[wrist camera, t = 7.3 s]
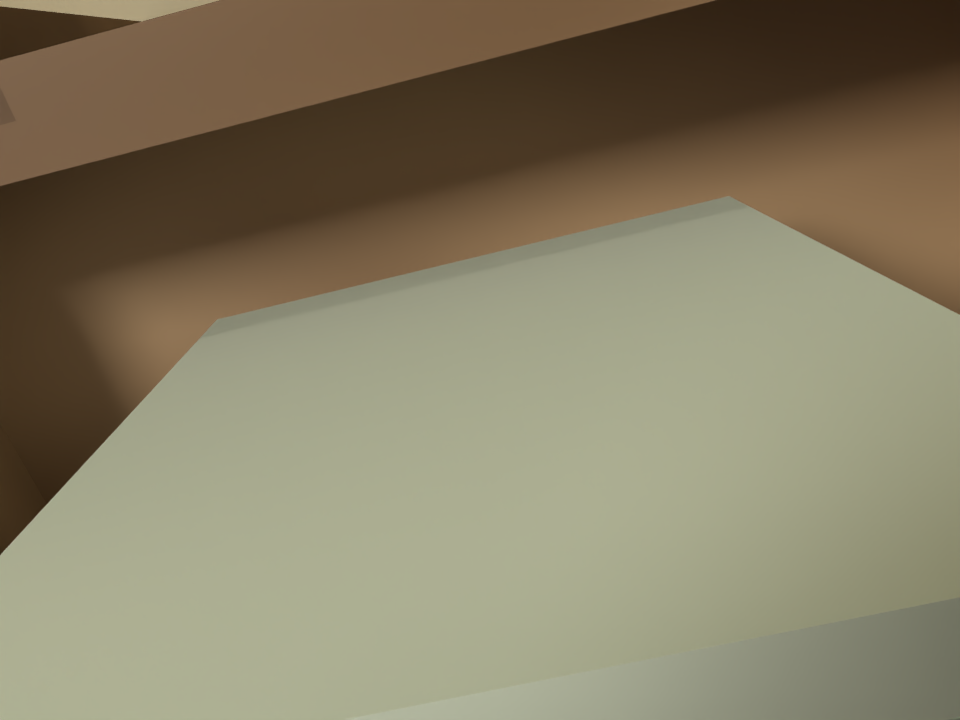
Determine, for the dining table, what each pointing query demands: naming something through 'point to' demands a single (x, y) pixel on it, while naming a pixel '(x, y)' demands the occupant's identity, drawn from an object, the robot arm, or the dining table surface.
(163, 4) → the dining table surface
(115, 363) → the crate
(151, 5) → the dining table surface
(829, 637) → the small crate
